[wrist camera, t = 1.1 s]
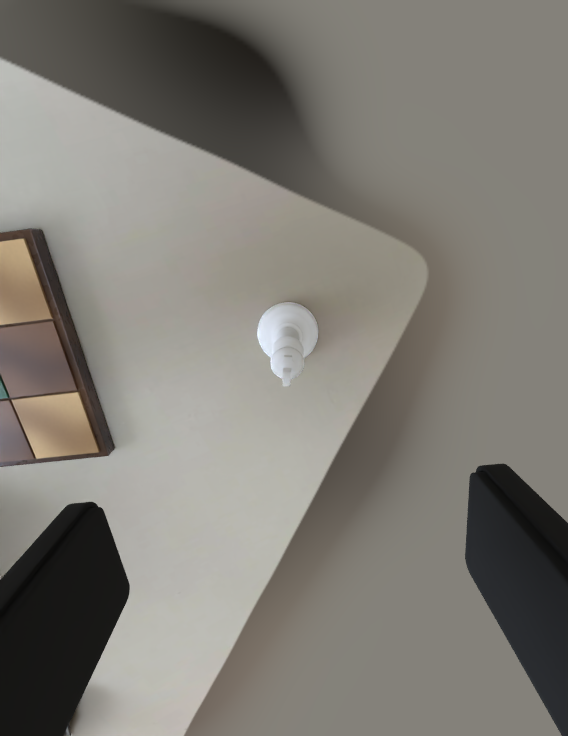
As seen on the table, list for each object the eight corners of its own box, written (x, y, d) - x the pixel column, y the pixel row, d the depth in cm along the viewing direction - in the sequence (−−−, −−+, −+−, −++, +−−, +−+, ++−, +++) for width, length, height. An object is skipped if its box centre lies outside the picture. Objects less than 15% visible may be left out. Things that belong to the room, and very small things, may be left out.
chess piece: (320, 303, 27) (337, 332, 17) (315, 362, 28) (329, 419, 19) (258, 300, 27) (241, 328, 17) (257, 359, 28) (240, 415, 19)
